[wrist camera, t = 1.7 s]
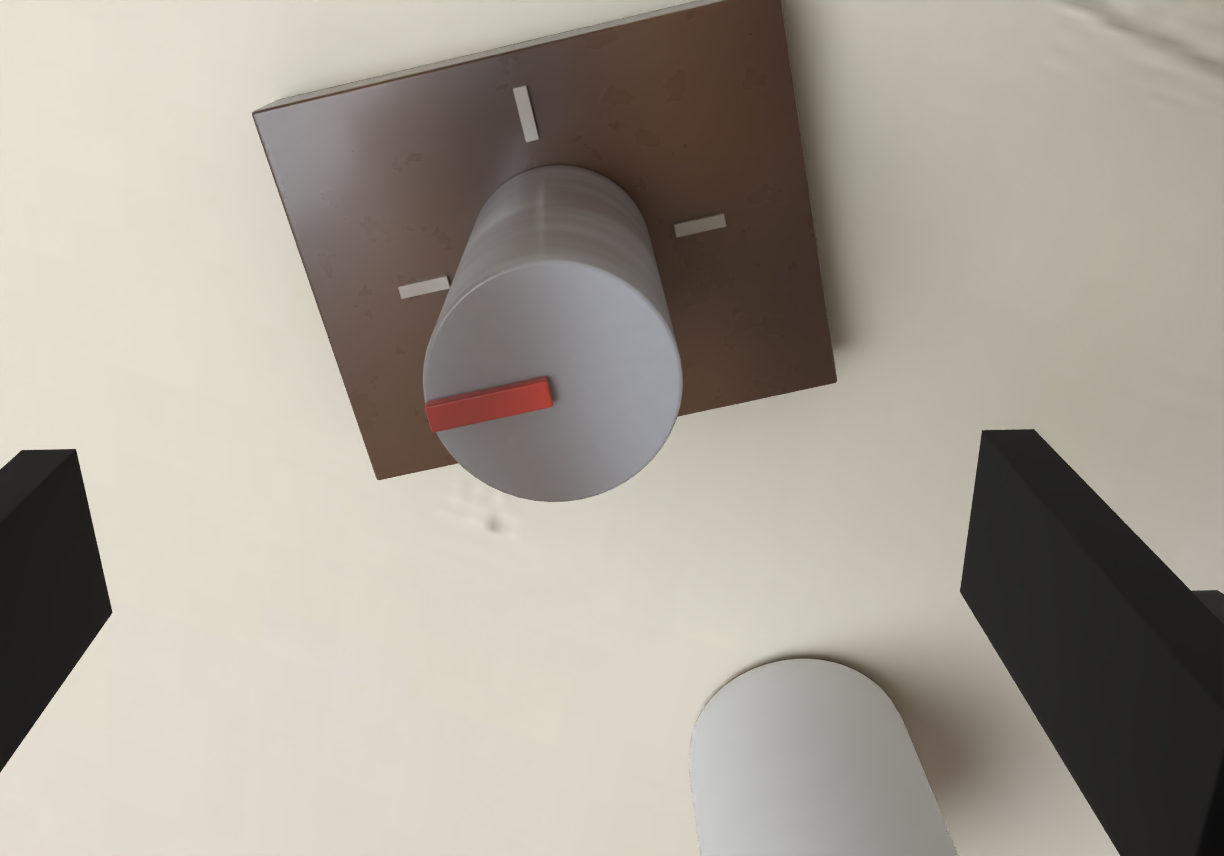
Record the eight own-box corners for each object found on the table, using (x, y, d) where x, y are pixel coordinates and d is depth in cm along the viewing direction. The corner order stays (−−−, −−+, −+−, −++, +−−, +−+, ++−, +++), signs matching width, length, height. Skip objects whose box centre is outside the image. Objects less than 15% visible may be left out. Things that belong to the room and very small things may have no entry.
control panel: (764, -16, 30) (781, -13, 27) (820, 354, 34) (839, 385, 32) (274, 100, 31) (248, 112, 28) (389, 447, 35) (375, 484, 33)
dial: (630, 145, 29) (655, 237, 20) (667, 321, 31) (706, 481, 22) (448, 187, 29) (386, 297, 20) (496, 358, 31) (460, 533, 22)
